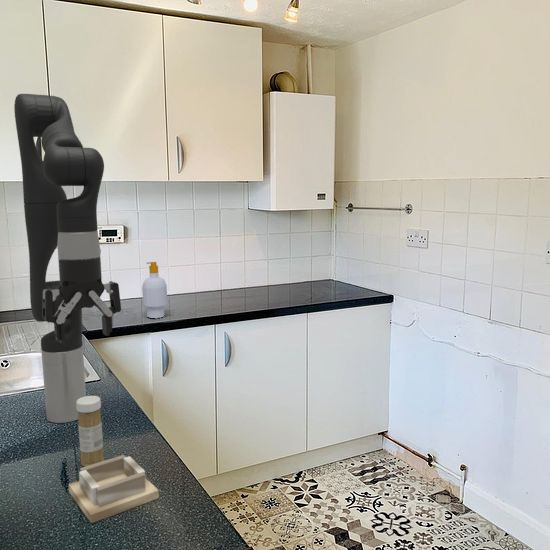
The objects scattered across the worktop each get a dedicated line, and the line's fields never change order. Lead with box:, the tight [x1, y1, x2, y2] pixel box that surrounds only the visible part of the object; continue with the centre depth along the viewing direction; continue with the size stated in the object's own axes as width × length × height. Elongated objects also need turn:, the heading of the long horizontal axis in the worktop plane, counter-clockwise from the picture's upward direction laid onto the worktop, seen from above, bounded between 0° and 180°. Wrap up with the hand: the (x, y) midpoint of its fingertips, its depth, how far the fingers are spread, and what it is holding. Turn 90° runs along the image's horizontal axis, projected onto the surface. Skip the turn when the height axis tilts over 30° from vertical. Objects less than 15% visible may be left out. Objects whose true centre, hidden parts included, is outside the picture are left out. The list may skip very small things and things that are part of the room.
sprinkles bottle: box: [76, 395, 105, 467], centre depth 108 cm, size 5×5×14 cm
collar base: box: [67, 454, 160, 524], centre depth 97 cm, size 12×12×4 cm
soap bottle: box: [141, 261, 168, 318], centre depth 232 cm, size 10×10×24 cm
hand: (84, 338), depth 105 cm, fingers open, 8 cm apart
